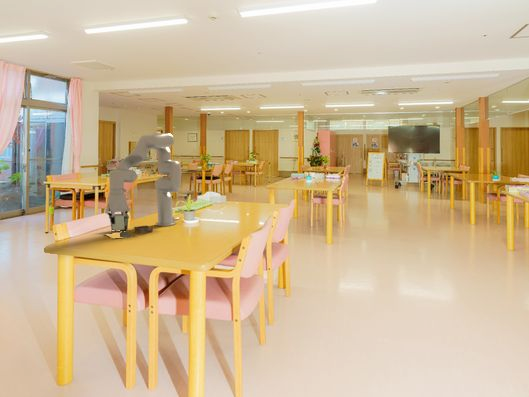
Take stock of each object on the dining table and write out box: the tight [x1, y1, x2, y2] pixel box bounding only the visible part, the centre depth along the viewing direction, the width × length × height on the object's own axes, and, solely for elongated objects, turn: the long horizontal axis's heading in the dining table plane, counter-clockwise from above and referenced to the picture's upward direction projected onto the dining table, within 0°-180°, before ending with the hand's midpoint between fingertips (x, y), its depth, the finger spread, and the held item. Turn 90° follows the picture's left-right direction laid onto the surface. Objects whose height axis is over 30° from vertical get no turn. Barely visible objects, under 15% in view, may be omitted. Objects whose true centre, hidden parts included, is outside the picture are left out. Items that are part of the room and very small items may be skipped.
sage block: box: [111, 215, 124, 230], centre depth 226 cm, size 5×5×8 cm
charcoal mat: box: [120, 231, 136, 238], centre depth 227 cm, size 12×16×1 cm
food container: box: [108, 213, 130, 232], centre depth 241 cm, size 12×6×10 cm, turn 84°
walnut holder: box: [133, 225, 153, 235], centre depth 236 cm, size 8×8×3 cm
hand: (118, 223), depth 226 cm, fingers closed on sage block, 5 cm apart
